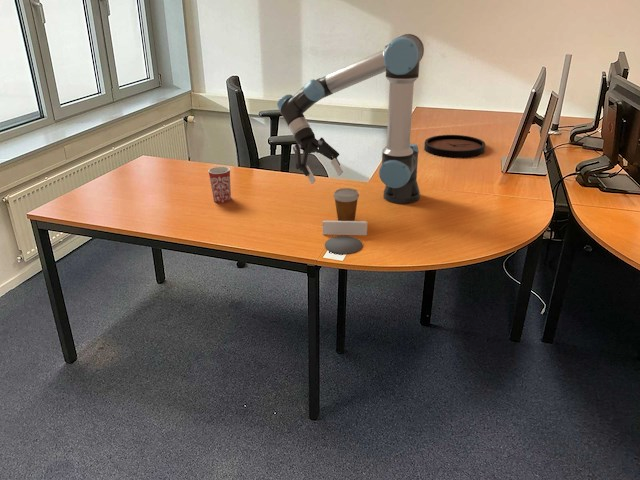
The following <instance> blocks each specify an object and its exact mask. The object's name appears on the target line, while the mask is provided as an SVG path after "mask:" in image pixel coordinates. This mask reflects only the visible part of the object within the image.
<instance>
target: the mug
mask: <svg viewBox="0 0 640 480" xmlns="http://www.w3.org/2000/svg"><path fill="white" fill-rule="evenodd" d="M207 172H208V174H209V175H208V176H209V181H210V186H211V187H210V188H211V192H212V198H213V202H214V203H217V202H218V204H224V203H225V204H226V203H228V202H230V201H231V200H232V195H231V192H232V191H231V168H230V167H228V166H222V165H221V166H213V167H211V168H209V169H208V170H207Z"/></svg>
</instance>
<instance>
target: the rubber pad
mask: <svg viewBox="0 0 640 480" xmlns="http://www.w3.org/2000/svg"><path fill="white" fill-rule="evenodd" d="M362 248H363V242H362V240H360V239H358V238H356V237H354V236H351V235H337V236H333V237H330V238H328V239H327V240H326V241H325V242H324V249H326V250H327V251H328V252H331V253H333V254H337V255H351V254H354V253H357V252H358V251H360V250H362Z"/></svg>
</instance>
